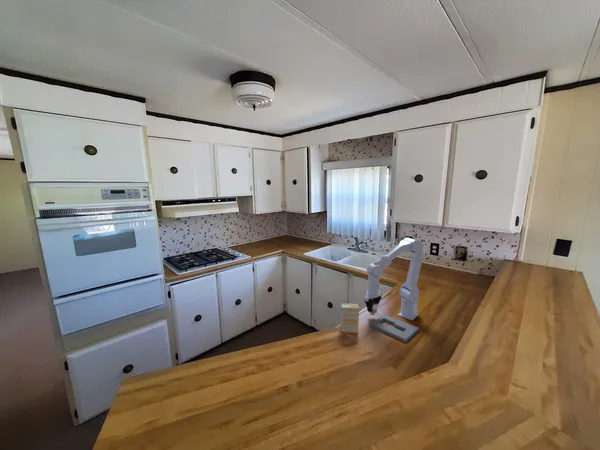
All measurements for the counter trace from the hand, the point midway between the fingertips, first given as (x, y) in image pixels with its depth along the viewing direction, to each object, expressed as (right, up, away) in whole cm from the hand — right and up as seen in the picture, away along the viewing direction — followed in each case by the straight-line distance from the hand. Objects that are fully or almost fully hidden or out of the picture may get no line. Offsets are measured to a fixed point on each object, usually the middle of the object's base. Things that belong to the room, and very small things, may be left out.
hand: (372, 310), depth 128 cm
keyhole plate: (+8, -6, -10) cm, 14 cm away
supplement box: (-15, -6, -12) cm, 21 cm away
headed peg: (0, -2, 0) cm, 2 cm away
